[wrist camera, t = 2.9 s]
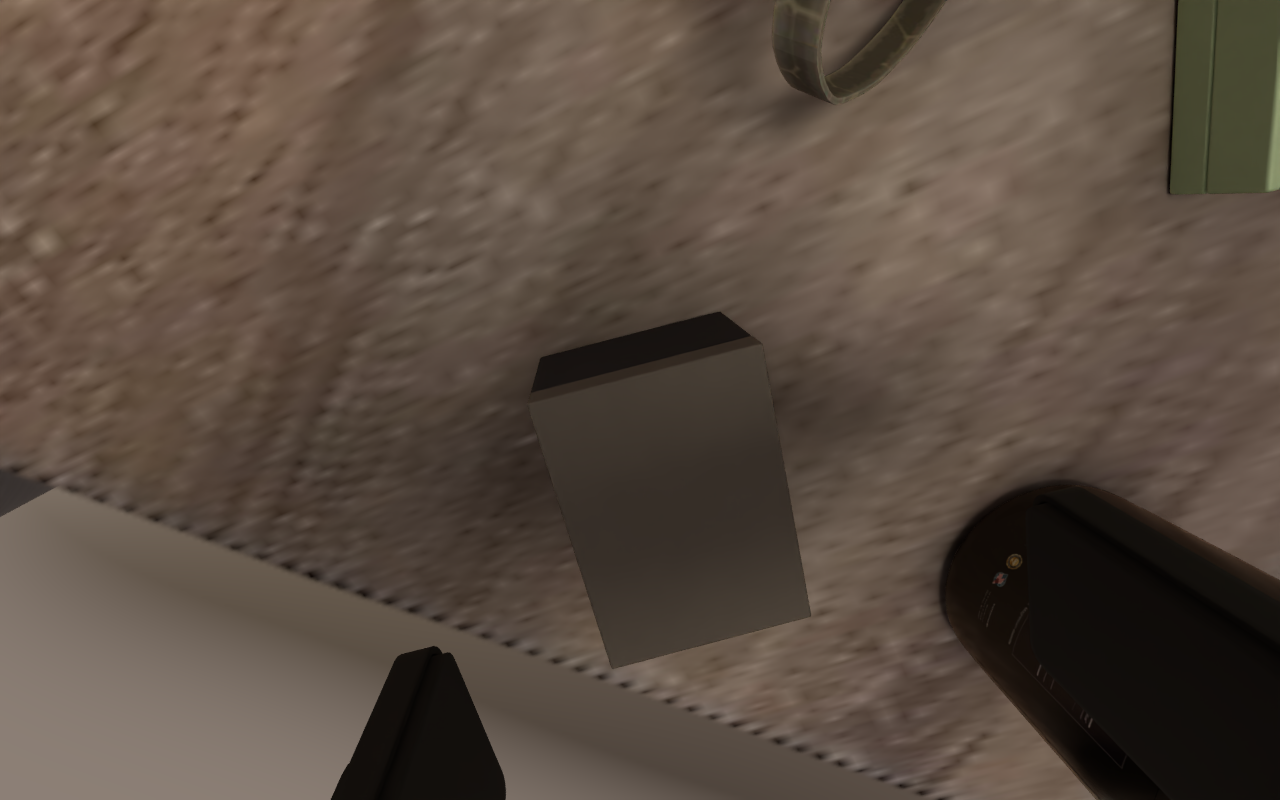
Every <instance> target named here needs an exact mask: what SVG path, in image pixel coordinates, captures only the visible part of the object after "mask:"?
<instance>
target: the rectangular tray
mask: <svg viewBox="0 0 1280 800" xmlns="http://www.w3.org/2000/svg"><path fill="white" fill-rule="evenodd" d="M1279 189H1280V0H1178V19H1177V41H1176V64H1175V86H1174V109H1173V132H1172V154H1171V177H1170V193H1171V194H1206V193H1210V194H1223V193H1268V192H1272V191H1276V190H1279Z"/></svg>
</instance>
